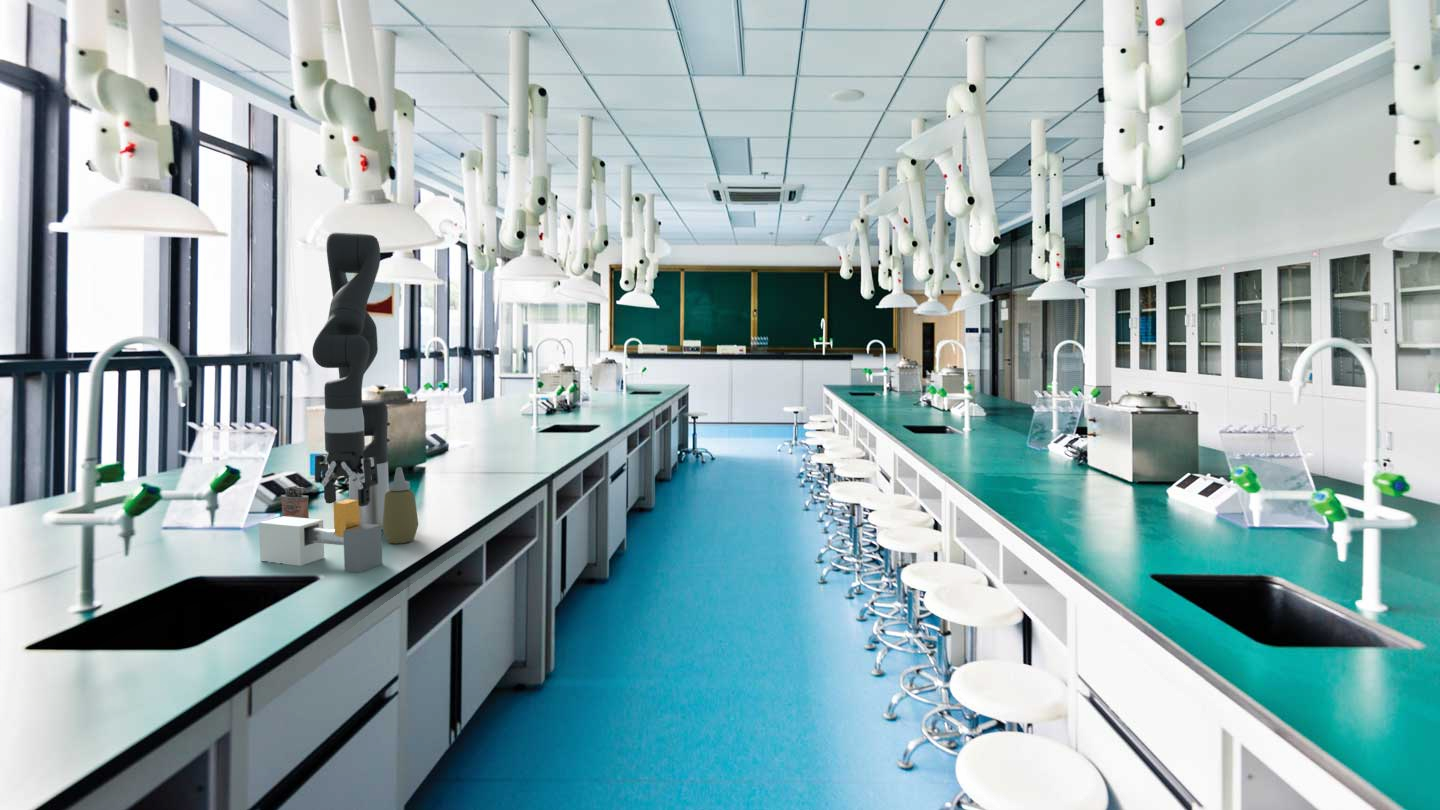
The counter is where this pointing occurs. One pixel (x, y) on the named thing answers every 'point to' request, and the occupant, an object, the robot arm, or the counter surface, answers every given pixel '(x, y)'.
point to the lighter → (295, 502)
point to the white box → (289, 541)
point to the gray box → (362, 547)
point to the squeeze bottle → (400, 511)
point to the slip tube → (336, 524)
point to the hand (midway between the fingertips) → (347, 504)
